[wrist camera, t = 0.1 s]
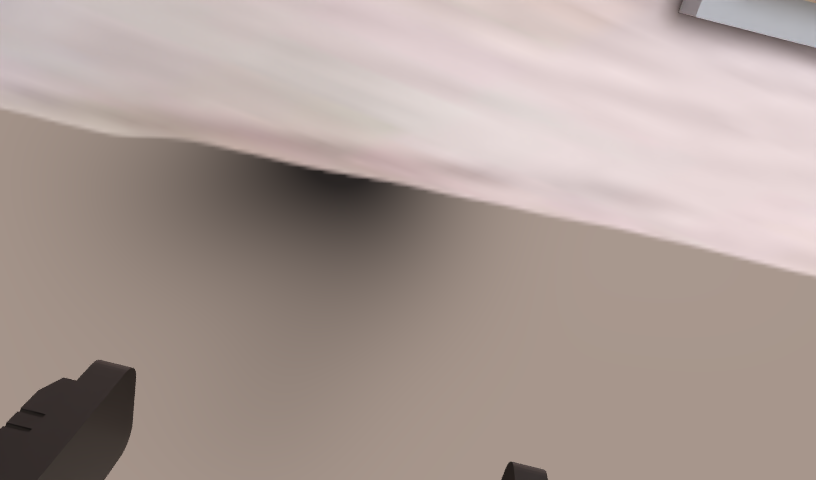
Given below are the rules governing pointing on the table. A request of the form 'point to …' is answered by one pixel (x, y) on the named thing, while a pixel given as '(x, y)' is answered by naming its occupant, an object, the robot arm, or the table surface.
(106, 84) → the table surface
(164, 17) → the table surface
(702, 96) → the table surface
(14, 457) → the robot arm
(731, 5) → the board
